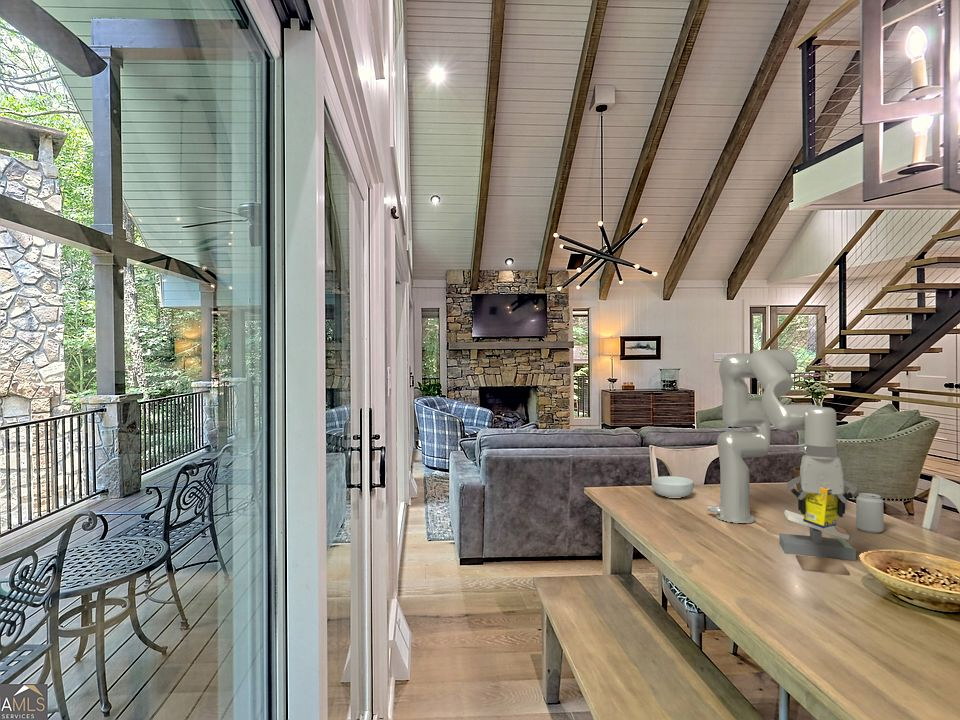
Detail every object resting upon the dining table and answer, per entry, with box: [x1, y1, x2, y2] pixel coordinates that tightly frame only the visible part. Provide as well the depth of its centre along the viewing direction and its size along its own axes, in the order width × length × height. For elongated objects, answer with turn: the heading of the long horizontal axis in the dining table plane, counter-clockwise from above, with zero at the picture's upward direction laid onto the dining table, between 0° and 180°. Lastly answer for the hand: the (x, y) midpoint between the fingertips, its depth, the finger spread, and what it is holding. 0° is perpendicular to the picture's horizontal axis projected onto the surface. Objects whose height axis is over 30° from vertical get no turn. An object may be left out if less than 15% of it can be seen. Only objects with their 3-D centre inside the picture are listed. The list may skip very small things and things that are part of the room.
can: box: [855, 492, 885, 534], centre depth 188 cm, size 8×8×12 cm
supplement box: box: [803, 487, 839, 528], centre depth 156 cm, size 6×6×11 cm
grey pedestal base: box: [778, 527, 857, 561], centre depth 168 cm, size 18×10×7 cm, turn 70°
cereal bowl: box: [651, 475, 695, 498], centre depth 236 cm, size 17×17×7 cm
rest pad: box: [795, 554, 851, 576], centre depth 156 cm, size 11×11×1 cm
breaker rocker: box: [784, 509, 850, 541], centre depth 168 cm, size 16×7×1 cm, turn 69°
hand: (821, 514), depth 156 cm, fingers closed on supplement box, 8 cm apart
